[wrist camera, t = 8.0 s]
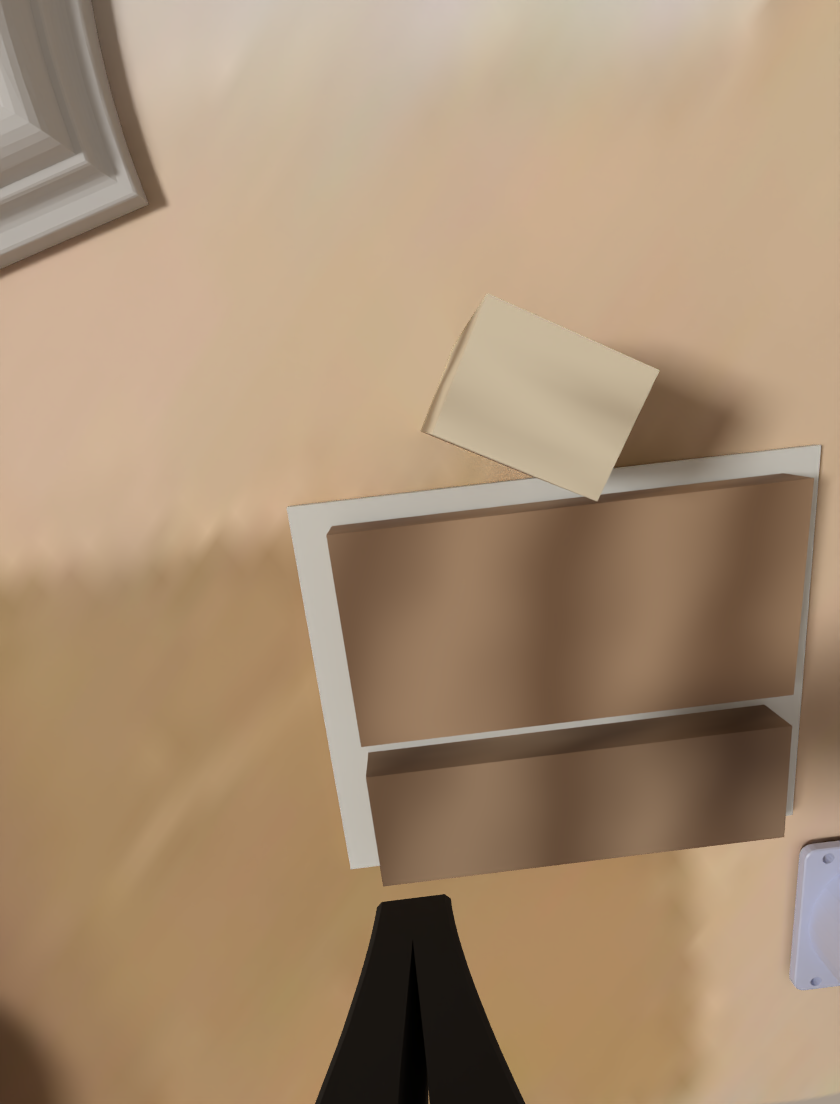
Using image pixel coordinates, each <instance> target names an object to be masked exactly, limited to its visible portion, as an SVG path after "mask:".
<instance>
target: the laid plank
mask: <svg viewBox="0 0 840 1104" xmlns="http://www.w3.org/2000/svg"><path fill="white" fill-rule="evenodd" d="M791 737H792V725H791V724H789V723H788V722H787V721H785V720H784V719H783V718H781V717H780V716H779V715H777V714H776V713H775V712H774V711H772V710H771V709H770V708H768V707H767V706H766V705H757V706H748V707H740V708H732V709H724V710H715V711H707V712H699V713H691V714H682V715H674V716H666V717H658V718H649V719H641V720H633V721H624V722H616V723H608V724H600V725H591V726H583V727H575V728H567V729H558V730H550V731H542V732H534V733H525V734H517V735H509V736H500V737H492V738H484V739H476V740H467V741H459V742H451V743H443V744H434V745H426V746H418V747H410V748H401V749H393V750H385V751H376V752H368V761H367V771H366V782H367V788H368V794H369V801H370V807H371V813H372V819H373V826H374V832H375V838H376V844H377V851H378V857H379V863H380V869H381V876H382V882H383V886H390V885H398V884H407V883H415V882H423V881H431V880H439V879H447V878H455V877H463V876H471V875H480V874H488V873H496V872H504V871H512V870H520V869H528V868H536V867H544V866H553V865H561V864H569V863H577V862H585V861H593V860H601V859H609V858H618V857H626V856H634V855H642V854H650V853H658V852H666V851H674V850H682V849H691V848H699V847H707V846H715V845H723V844H731V843H739V842H747V841H756V840H764V839H772V838H780V837H784V832H785V818H786V805H787V791H788V778H789V764H790V751H791Z"/></svg>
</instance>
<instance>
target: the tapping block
mask: <svg viewBox="0 0 840 1104" xmlns="http://www.w3.org/2000/svg"><path fill="white" fill-rule="evenodd" d="M659 371H660V370H658V369H656V368H653V367H651V366H649V365H647V364H644V363H642V362H640V361H638V360H636V359H633V358H631V357H629V356H627V355H624V354H622V353H620V352H618V351H615V350H613V349H611V348H609V347H607V346H604V345H602V344H600V343H598V342H595V341H593V340H591V339H589V338H586V337H584V336H582V335H580V334H577V333H575V332H573V331H571V330H569V329H566V328H564V327H562V326H560V325H557V324H555V323H553V322H551V321H548V320H546V319H544V318H542V317H540V316H537V315H535V314H533V313H531V312H528V311H526V310H524V309H522V308H519V307H517V306H515V305H513V304H511V303H508V302H506V301H504V300H502V299H499V298H497V297H495V296H493V295H490V294H488V293H487V294H486V296H485V297H484V299H483V300H482V302H481V303H480V305H479V307H478V308H477V310H476V311H475V313H474V314H473V316H472V317H471V319H470V321H469V322H468V324H467V325H466V327H465V328H464V330H463V331H462V333H461V335H460V336H459V338H458V339H457V341H456V342H455V344H454V346H453V348H452V350H451V353H450V356H449V358H448V361H447V364H446V366H445V369H444V371H443V374H442V377H441V379H440V382H439V384H438V387H437V390H436V392H435V395H434V397H433V400H432V403H431V405H430V408H429V410H428V413H427V416H426V418H425V421H424V423H423V426H422V429H421V432H424V433H426V434H429V435H431V436H433V437H436V438H438V439H441V440H443V441H446V442H448V443H451V444H453V445H456V446H458V447H461V448H463V449H465V450H468V451H470V452H473V453H475V454H478V455H480V456H483V457H485V458H488V459H490V460H493V461H495V462H498V463H500V464H502V465H505V466H507V467H510V468H512V469H515V470H517V471H520V472H522V473H525V474H527V475H530V476H532V477H535V478H538V479H540V480H543V481H545V482H548V483H551V484H553V485H556V486H558V487H561V488H564V489H566V490H569V491H571V492H574V493H577V494H579V495H582V496H584V497H587V498H589V499H592V500H595V501H598V499H599V497H600V495H601V493H602V491H603V489H604V486H605V484H606V482H607V480H608V478H609V476H610V474H611V472H612V470H613V467H614V465H615V463H616V461H617V459H618V457H619V455H620V453H621V451H622V449H623V446H624V444H625V442H626V440H627V438H628V436H629V434H630V432H631V430H632V427H633V425H634V423H635V421H636V419H637V417H638V415H639V413H640V411H641V409H642V406H643V404H644V402H645V400H646V398H647V396H648V394H649V392H650V390H651V387H652V385H653V383H654V381H655V379H656V377H657V375H658V373H659Z"/></svg>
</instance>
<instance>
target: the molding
mask: <svg viewBox="0 0 840 1104" xmlns="http://www.w3.org/2000/svg"><path fill="white" fill-rule="evenodd" d="M146 205H149V203H148V201H147V198H146V196H145V193H144V190H143V188H142V185H141V182H140V180H139V177H138V174H137V172H136V169H135V166H134V164H133V161H132V158H131V155H130V153H129V150H128V147H127V144H126V140H125V137H124V134H123V131H122V127H121V124H120V121H119V117H118V114H117V110H116V107H115V104H114V100H113V97H112V93H111V90H110V86H109V82H108V78H107V74H106V69H105V65H104V61H103V57H102V52H101V48H100V43H99V39H98V34H97V28H96V23H95V17H94V12H93V7H92V1H91V0H0V269H2V268H4V267H6V266H9V265H11V264H13V263H15V262H18V261H20V260H22V259H25V258H27V257H29V256H32V255H34V254H36V253H38V252H41V251H43V250H45V249H48V248H50V247H52V246H55V245H57V244H59V243H61V242H64V241H66V240H68V239H71V238H73V237H75V236H77V235H80V234H82V233H84V232H87V231H89V230H91V229H94V228H96V227H98V226H100V225H103V224H105V223H107V222H110V221H112V220H114V219H116V218H119V217H121V216H123V215H126V214H128V213H130V212H133V211H135V210H137V209H139V208H142V207H144V206H146Z"/></svg>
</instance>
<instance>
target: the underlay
mask: <svg viewBox="0 0 840 1104" xmlns="http://www.w3.org/2000/svg"><path fill="white" fill-rule="evenodd" d="M820 454H821V445H807V446H799V447H790V448H782V449H773V450H765V451H756V452H747V453H739V454H730V455H722V456H713V457H705V458H696V459H688V460H679V461H670V462H662V463H653V464H645V465H636V466H628V467H619V468H613V470H612V472H611V474H610V476H609V478H608V480H607V482H606V484H605V486H604V489H603V491H602V493H601V495H602V494H610V493H619V492H627V491H636V490H644V489H653V488H661V487H670V486H678V485H687V484H695V483H704V482H712V481H721V480H730V479H738V478H747V477H755V476H764V475H772V474H781V473H785V474H791V475H798V476H804V477H810V478H814V485H813V496H812V506H811V517H810V528H809V538H808V549H807V559H806V570H805V580H804V591H803V601H802V612H801V623H800V633H799V644H798V654H797V665H796V675H795V686H794V695H788V696H780V697H772V698H763V699H755V700H747V701H739V702H730V703H722V704H714V705H706V706H697V707H689V708H681V709H672V710H664V711H656V712H648V713H639V714H631V715H623V716H615V717H606V718H598V719H590V720H581V721H573V722H565V723H557V724H548V725H540V726H532V727H523V728H515V729H507V730H499V731H490V732H482V733H474V734H466V735H457V736H449V737H441V738H432V739H424V740H416V741H408V742H399V743H391V744H383V745H375V746H366V747H361V743H360V737H359V731H358V725H357V719H356V713H355V707H354V701H353V695H352V689H351V683H350V677H349V671H348V664H347V658H346V652H345V646H344V640H343V634H342V628H341V622H340V616H339V610H338V604H337V598H336V592H335V586H334V580H333V573H332V567H331V561H330V555H329V549H328V543H327V537H326V535H327V533H328V532H329V530H330V528H331V527H332V526H337V525H346V524H354V523H363V522H371V521H380V520H388V519H397V518H405V517H414V516H422V515H431V514H439V513H448V512H456V511H465V510H474V509H482V508H491V507H499V506H508V505H516V504H525V503H533V502H542V501H550V500H559V499H567V498H576V497H584V496H582V495H579V494H577V493H574V492H571V491H569V490H566V489H564V488H561V487H558V486H556V485H553V484H551V483H548V482H545V481H543V480H540V479H538V478H535V477H533V478H525V479H516V480H508V481H499V482H491V483H482V484H473V485H465V486H456V487H448V488H439V489H431V490H422V491H414V492H405V493H396V494H388V495H379V496H371V497H362V498H354V499H345V500H336V501H328V502H319V503H311V504H302V505H294V506H288V507H287V512H288V518H289V524H290V529H291V535H292V541H293V546H294V552H295V557H296V563H297V569H298V574H299V580H300V586H301V591H302V597H303V603H304V608H305V614H306V619H307V625H308V631H309V636H310V642H311V648H312V653H313V659H314V664H315V670H316V676H317V681H318V687H319V693H320V698H321V704H322V710H323V715H324V721H325V726H326V732H327V738H328V743H329V749H330V755H331V760H332V766H333V772H334V777H335V783H336V788H337V794H338V800H339V805H340V811H341V817H342V822H343V828H344V833H345V839H346V845H347V850H348V856H349V862H350V867H351V869H357V868H365V867H373V866H380V863H379V857H378V851H377V844H376V838H375V832H374V826H373V819H372V813H371V807H370V801H369V794H368V788H367V782H366V771H367V761H368V752H376V751H385V750H393V749H401V748H410V747H418V746H426V745H434V744H443V743H451V742H459V741H467V740H476V739H484V738H492V737H500V736H509V735H517V734H525V733H534V732H542V731H550V730H558V729H567V728H575V727H583V726H591V725H600V724H608V723H616V722H624V721H633V720H641V719H649V718H658V717H666V716H674V715H682V714H691V713H699V712H707V711H715V710H724V709H732V708H740V707H748V706H757V705H766V706H767V707H768V708H770V709H771V710H772V711H774V712H775V713H776V714H777V715H779V716H780V717H781V718H783V719H784V720H785V721H787V722H788V723H789V724H791V725H792V737H791V751H790V764H789V778H788V791H787V805H786V816H788V815H792V814H793V801H794V788H795V775H796V762H797V749H798V737H799V724H800V711H801V698H802V685H803V672H804V660H805V647H806V634H807V621H808V608H809V595H810V583H811V570H812V557H813V544H814V531H815V518H816V506H817V493H818V480H819V467H820Z"/></svg>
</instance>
